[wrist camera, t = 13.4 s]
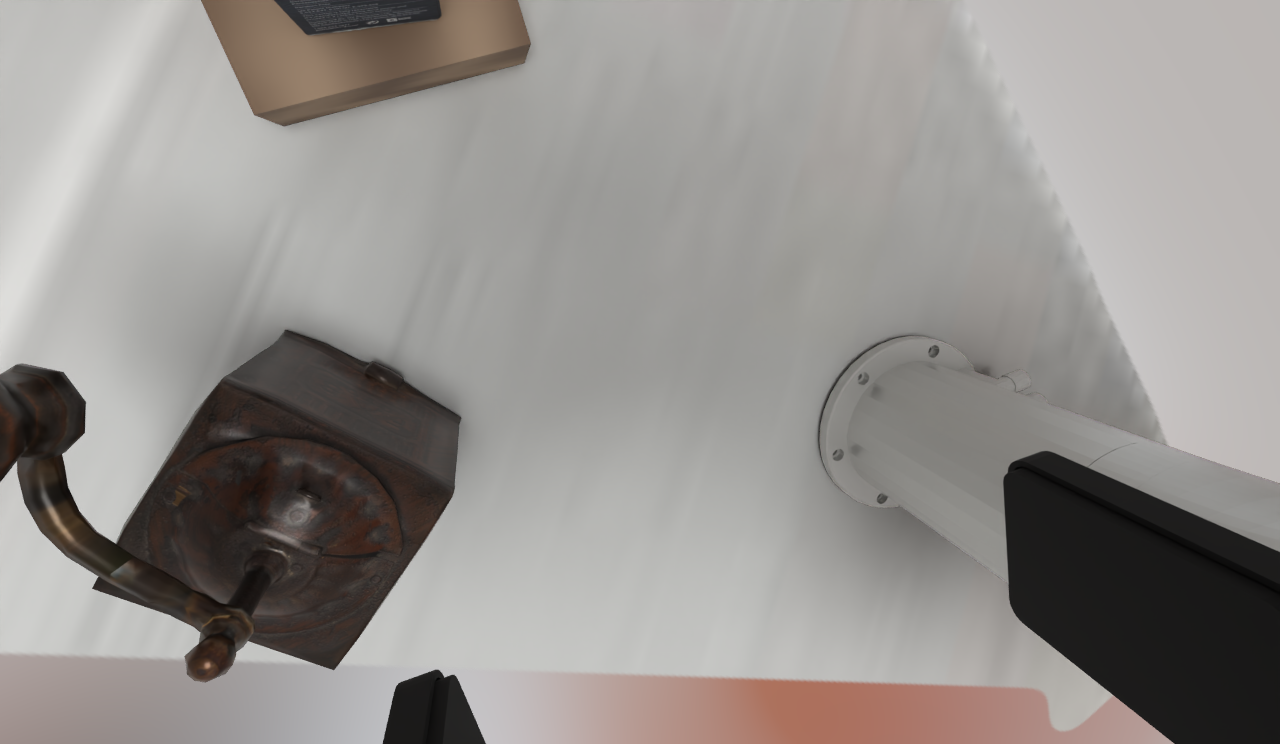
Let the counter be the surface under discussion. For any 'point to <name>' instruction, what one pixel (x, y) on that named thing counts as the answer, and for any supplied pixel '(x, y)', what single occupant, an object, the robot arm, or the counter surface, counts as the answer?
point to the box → (357, 13)
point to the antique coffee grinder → (255, 499)
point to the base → (360, 55)
